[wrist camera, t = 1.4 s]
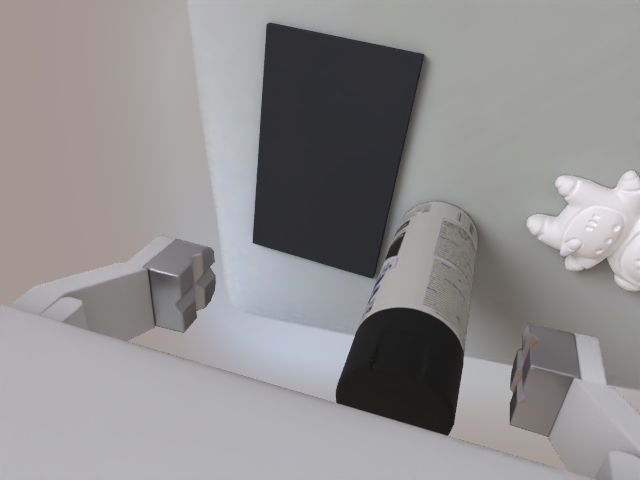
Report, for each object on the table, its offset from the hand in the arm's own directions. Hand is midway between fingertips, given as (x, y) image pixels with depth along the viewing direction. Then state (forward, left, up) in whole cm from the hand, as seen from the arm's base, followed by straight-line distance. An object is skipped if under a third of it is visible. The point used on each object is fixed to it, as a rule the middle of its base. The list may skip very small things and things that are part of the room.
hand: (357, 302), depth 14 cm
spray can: (+14, +2, -30) cm, 33 cm away
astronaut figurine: (+10, +14, -30) cm, 34 cm away
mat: (+10, -9, -29) cm, 32 cm away
